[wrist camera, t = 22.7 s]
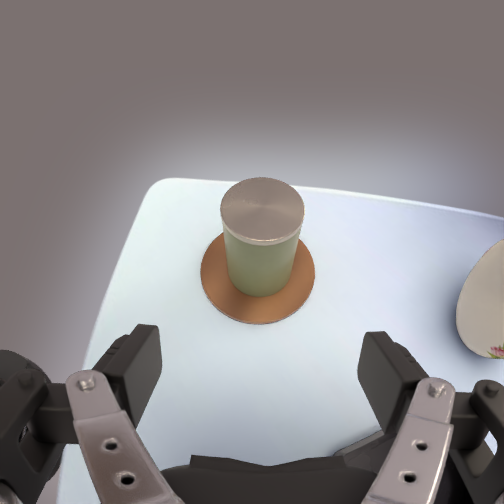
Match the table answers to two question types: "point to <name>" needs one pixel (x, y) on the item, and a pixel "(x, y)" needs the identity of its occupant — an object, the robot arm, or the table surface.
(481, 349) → the pitcher
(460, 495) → the pan
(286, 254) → the tin
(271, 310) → the coaster
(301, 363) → the table surface
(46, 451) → the robot arm
